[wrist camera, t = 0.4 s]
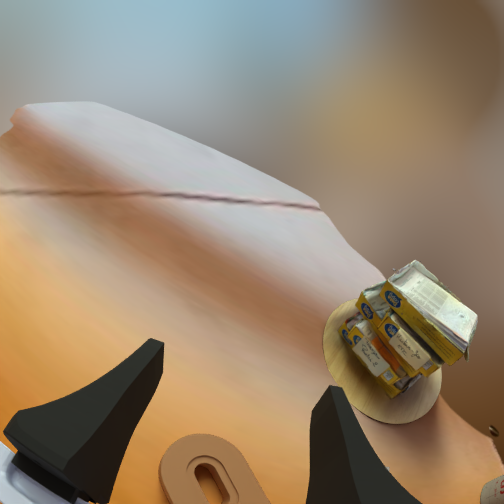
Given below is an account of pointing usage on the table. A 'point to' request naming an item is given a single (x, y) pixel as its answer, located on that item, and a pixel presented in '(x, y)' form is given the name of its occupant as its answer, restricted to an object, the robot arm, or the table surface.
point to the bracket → (217, 462)
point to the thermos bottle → (493, 492)
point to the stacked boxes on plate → (397, 344)
